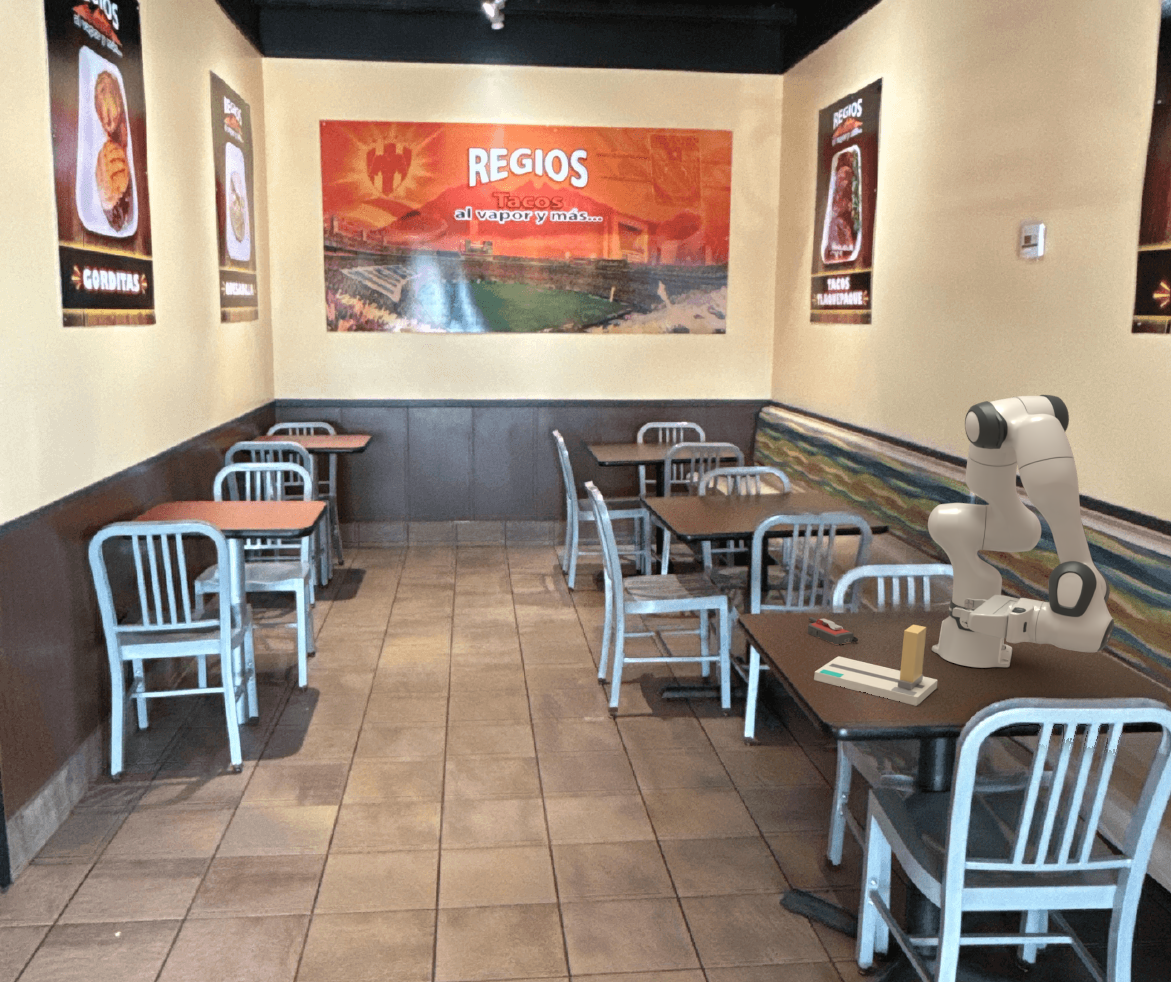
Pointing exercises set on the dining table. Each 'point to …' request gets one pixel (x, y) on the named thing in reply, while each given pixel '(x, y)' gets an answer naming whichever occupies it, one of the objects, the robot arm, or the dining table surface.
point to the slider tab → (912, 657)
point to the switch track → (873, 680)
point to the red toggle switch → (830, 631)
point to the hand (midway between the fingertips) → (959, 606)
